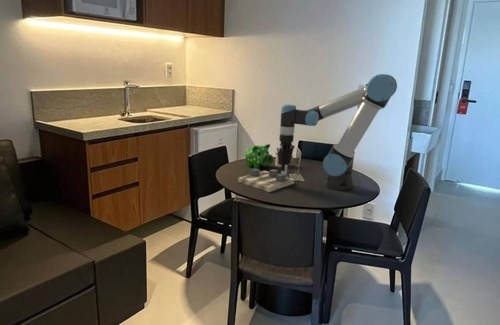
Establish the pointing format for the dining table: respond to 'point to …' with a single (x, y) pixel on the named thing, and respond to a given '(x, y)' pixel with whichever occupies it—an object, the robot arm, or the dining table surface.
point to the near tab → (280, 177)
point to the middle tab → (273, 173)
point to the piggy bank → (258, 156)
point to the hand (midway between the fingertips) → (283, 176)
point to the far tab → (255, 172)
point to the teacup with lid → (278, 161)
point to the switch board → (265, 181)
